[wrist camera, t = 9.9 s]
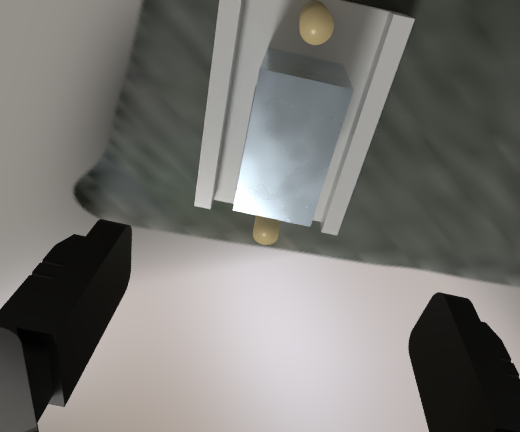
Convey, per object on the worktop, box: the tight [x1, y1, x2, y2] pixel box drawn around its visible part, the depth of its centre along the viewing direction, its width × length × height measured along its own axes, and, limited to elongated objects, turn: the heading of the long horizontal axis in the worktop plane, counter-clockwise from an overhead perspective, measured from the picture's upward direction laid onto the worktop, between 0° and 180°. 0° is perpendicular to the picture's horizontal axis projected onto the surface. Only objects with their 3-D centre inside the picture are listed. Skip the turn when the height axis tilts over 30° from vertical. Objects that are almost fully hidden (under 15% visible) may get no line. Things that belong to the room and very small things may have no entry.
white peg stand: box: [194, 0, 415, 245], centre depth 22 cm, size 12×9×5 cm
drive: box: [233, 47, 354, 227], centre depth 21 cm, size 7×4×5 cm, turn 168°
